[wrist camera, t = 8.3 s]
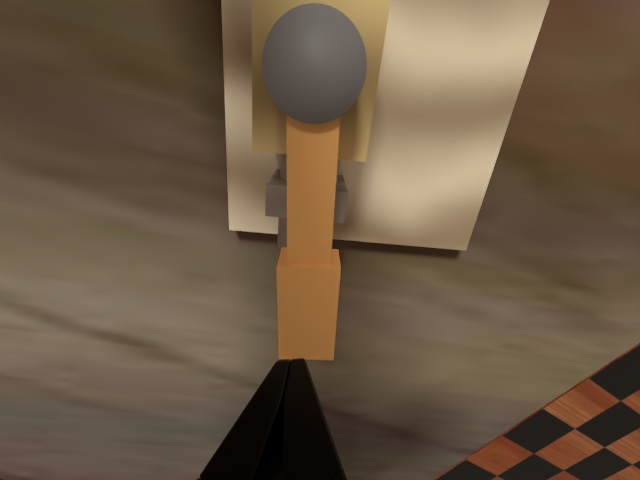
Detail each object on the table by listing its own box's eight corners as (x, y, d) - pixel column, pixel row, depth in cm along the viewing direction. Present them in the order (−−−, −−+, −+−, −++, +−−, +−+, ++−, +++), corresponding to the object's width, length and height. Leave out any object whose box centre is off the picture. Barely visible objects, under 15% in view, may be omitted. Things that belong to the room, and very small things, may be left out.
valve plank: (223, -152, 13) (140, -377, 7) (569, -105, 14) (768, -274, 8) (234, 223, 21) (197, 272, 14) (458, 243, 21) (514, 298, 15)
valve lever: (364, 22, 10) (372, 6, 8) (337, 334, 16) (339, 360, 14) (269, 17, 10) (259, 0, 8) (277, 332, 16) (272, 358, 14)
